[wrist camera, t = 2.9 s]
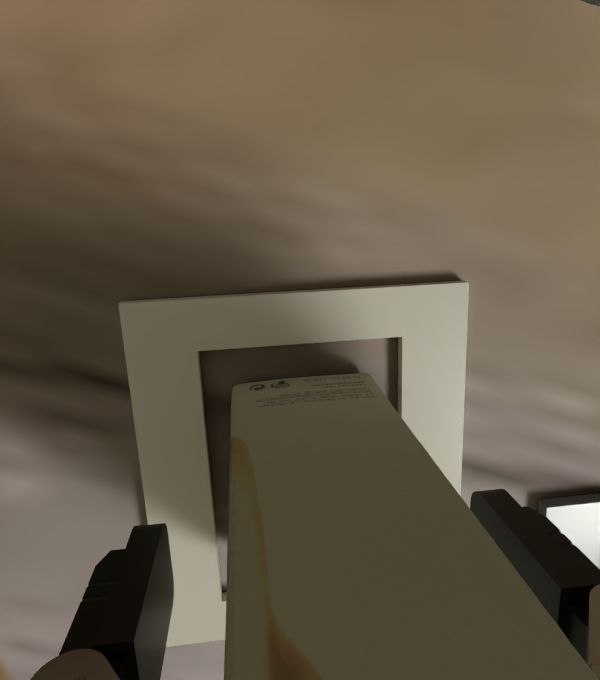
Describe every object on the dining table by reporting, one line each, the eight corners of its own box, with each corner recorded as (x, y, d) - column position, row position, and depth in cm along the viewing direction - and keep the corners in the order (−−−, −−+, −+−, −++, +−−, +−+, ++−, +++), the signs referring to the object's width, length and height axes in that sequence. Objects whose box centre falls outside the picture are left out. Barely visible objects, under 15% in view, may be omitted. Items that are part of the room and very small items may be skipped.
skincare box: (228, 380, 15) (182, 992, 3) (371, 367, 15) (794, 868, 4) (245, 565, 17) (258, 1427, 5) (374, 549, 17) (676, 1306, 5)
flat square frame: (462, 280, 15) (469, 282, 15) (451, 601, 18) (455, 609, 18) (121, 301, 14) (118, 303, 14) (166, 637, 17) (164, 647, 17)
